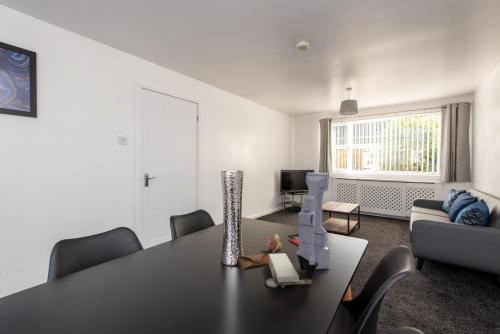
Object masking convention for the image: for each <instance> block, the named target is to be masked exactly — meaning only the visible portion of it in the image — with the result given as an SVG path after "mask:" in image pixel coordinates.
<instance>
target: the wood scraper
mask: <svg viewBox="0 0 500 334" xmlns="http://www.w3.org/2000/svg"><path fill="white" fill-rule="evenodd" d="M313 278H314V277H313ZM313 278H312V280H307V278H306V277H305V279H299V281H293V282H279V286H280V288H281V289H283V288H285V287H286V286H287V285H289V286H291V285H293V286H294V285H313V281H314V279H313Z"/></svg>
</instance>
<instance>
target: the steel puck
mask: <svg viewBox="0 0 500 334" xmlns="http://www.w3.org/2000/svg"><path fill="white" fill-rule="evenodd" d="M266 286H267V287H269V288H271V289H272V288H274V289H275V288H278V287H279V286H280V285H279V282H278V280H277V278H273V277H271V278H267V279H266Z"/></svg>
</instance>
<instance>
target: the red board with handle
mask: <svg viewBox="0 0 500 334" xmlns="http://www.w3.org/2000/svg"><path fill="white" fill-rule="evenodd" d="M287 236H288V237H290V238H289V239H288V240H287V241H288V242H289V241H290V242H289V243H291V242H292V243H291V244H293V245H295V246H297V247H299V233H294V234H292V233H291V234H289V235H287ZM328 250H329V251H330V249H329V248H328Z"/></svg>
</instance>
